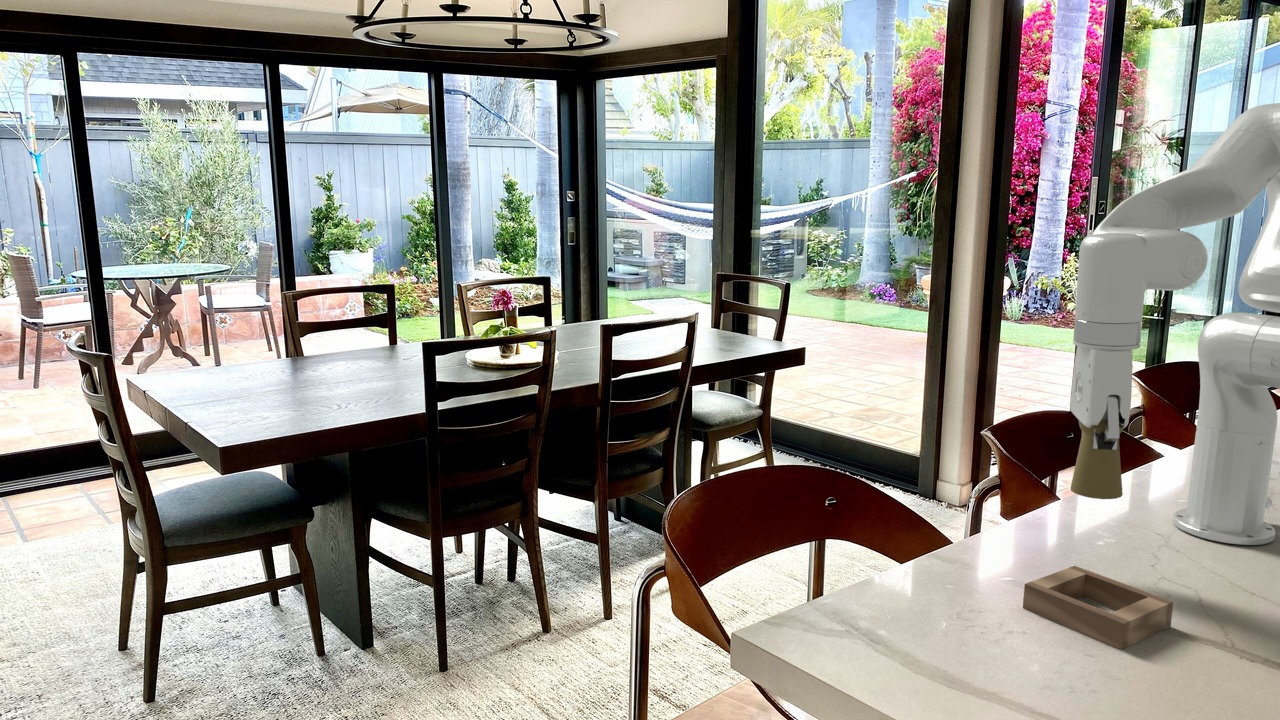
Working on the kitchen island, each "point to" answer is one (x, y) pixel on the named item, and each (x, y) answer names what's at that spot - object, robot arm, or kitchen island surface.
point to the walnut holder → (1119, 628)
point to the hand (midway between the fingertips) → (1096, 473)
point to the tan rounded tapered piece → (1097, 467)
